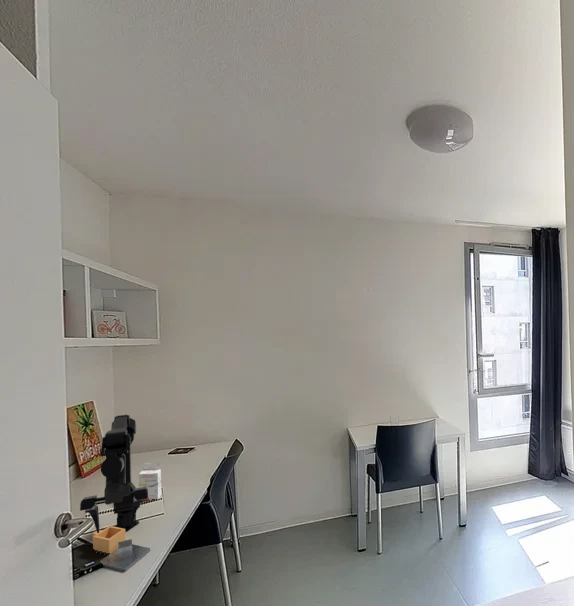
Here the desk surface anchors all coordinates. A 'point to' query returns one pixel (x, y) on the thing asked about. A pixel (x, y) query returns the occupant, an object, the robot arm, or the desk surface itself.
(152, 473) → the ink cartridge box
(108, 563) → the grey plate with tab
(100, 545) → the tan open-top box
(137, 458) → the desk surface
